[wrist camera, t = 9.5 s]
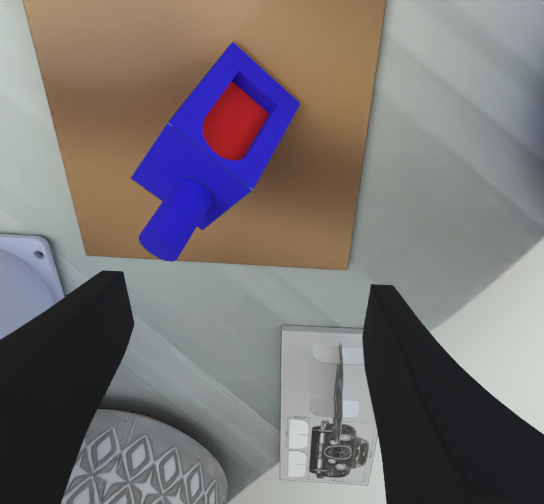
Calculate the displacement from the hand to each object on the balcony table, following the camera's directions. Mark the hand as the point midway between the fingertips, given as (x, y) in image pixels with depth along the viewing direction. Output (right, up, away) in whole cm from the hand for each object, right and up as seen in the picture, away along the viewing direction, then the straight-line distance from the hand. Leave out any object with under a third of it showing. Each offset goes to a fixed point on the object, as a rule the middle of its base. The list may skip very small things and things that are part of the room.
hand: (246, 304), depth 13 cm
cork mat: (-2, +7, +7) cm, 10 cm away
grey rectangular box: (+5, -9, +17) cm, 20 cm away
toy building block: (-1, +7, +7) cm, 10 cm away
